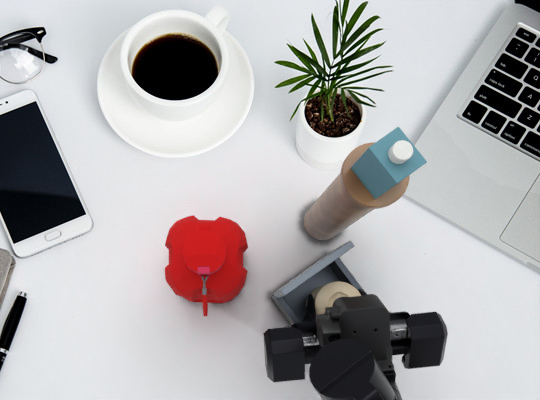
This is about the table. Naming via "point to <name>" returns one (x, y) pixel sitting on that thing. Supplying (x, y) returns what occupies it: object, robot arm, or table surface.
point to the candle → (331, 294)
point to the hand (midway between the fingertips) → (335, 294)
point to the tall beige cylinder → (347, 200)
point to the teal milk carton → (387, 162)
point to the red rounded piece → (206, 260)
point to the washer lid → (313, 269)
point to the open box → (296, 299)
